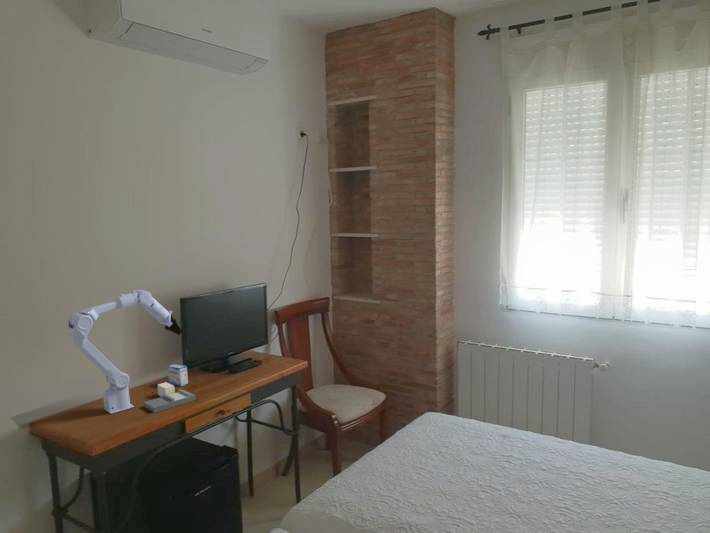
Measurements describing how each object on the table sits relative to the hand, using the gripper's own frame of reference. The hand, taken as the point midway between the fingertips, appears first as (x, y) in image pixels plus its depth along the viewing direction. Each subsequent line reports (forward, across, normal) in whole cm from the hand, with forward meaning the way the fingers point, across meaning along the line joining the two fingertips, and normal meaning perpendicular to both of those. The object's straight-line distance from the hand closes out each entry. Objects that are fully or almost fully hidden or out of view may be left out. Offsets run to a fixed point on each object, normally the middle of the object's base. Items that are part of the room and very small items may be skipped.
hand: (178, 330), depth 238 cm
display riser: (+14, -18, +22) cm, 32 cm away
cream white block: (+16, -8, +23) cm, 29 cm away
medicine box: (+23, +6, +18) cm, 30 cm away
